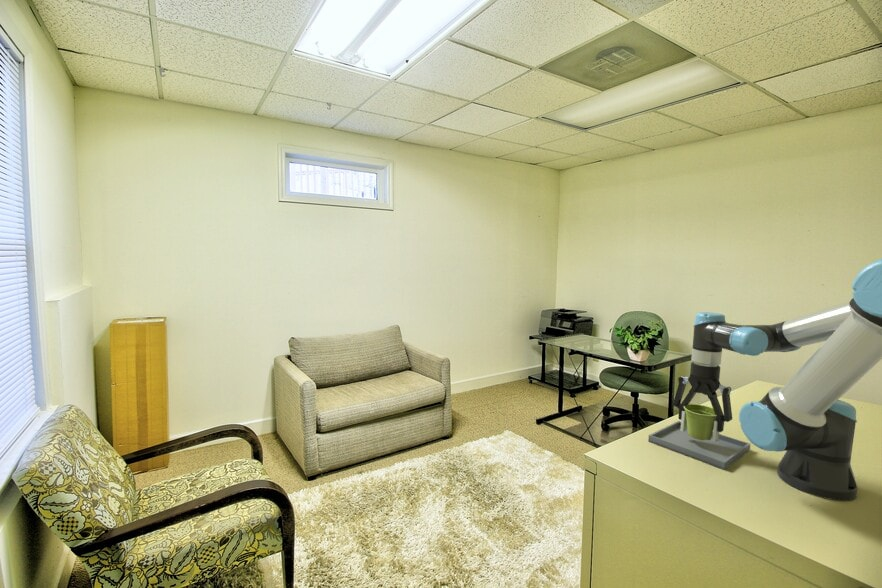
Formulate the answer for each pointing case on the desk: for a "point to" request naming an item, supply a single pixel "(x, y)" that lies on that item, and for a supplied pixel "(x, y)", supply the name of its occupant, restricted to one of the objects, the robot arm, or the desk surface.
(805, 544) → the desk surface
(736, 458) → the tray
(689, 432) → the plant pot
